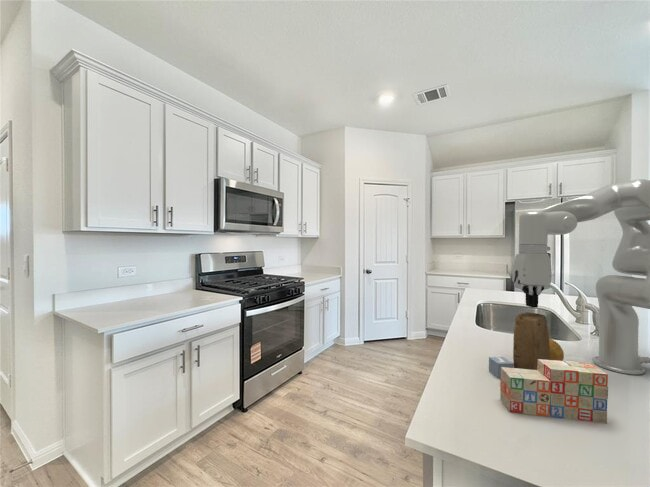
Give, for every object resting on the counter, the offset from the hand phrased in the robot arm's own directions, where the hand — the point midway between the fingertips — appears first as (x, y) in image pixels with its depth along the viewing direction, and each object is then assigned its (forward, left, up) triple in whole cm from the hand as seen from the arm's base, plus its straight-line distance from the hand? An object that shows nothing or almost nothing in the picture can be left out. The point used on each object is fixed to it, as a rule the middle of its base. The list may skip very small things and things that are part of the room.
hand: (531, 306), depth 93 cm
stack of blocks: (+9, +19, -23) cm, 31 cm away
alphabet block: (+10, 0, -23) cm, 25 cm away
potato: (-11, -11, -23) cm, 28 cm away
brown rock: (0, 0, -23) cm, 23 cm away
